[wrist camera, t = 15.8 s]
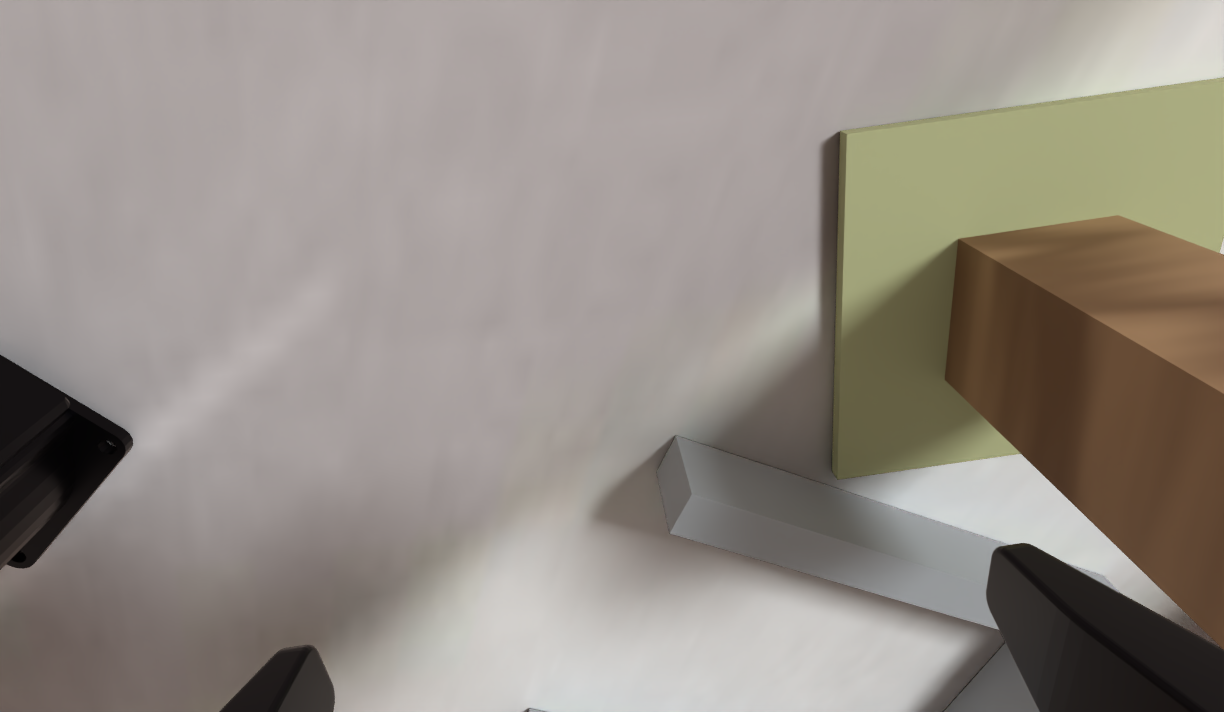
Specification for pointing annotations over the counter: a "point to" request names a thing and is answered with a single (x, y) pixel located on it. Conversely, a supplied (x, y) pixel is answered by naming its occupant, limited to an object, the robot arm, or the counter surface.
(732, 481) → the channel
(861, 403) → the mat
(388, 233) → the counter surface
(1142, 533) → the walnut block
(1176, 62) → the counter surface
